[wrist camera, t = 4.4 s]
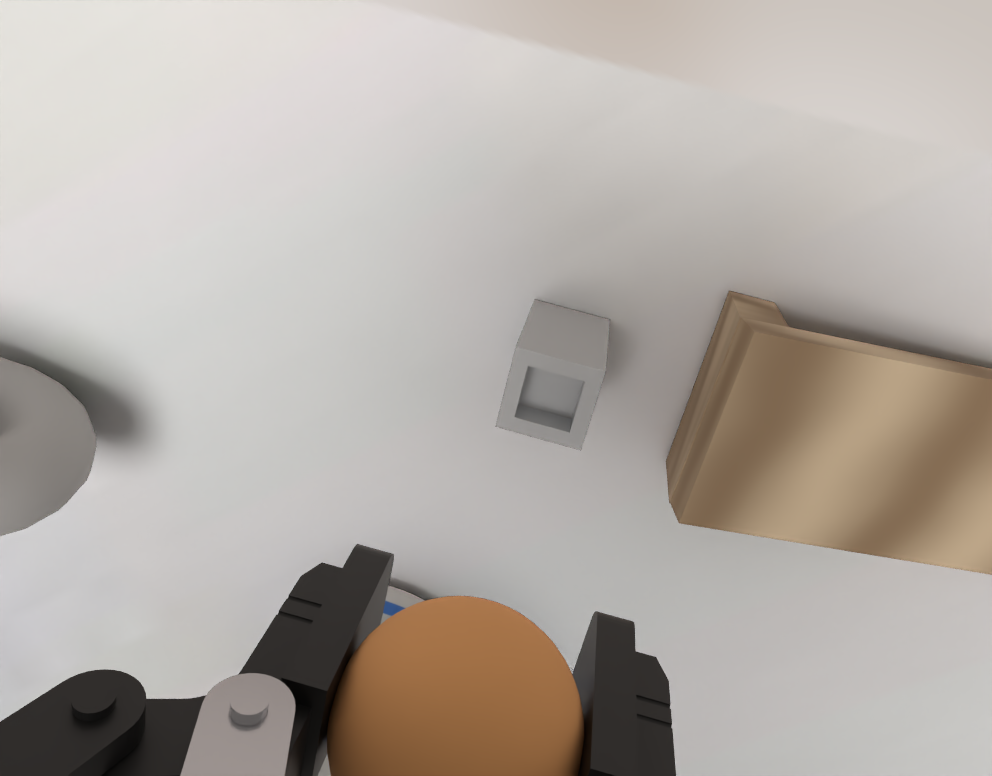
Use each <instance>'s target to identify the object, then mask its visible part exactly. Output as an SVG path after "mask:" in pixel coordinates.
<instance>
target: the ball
mask: <svg viewBox="0 0 992 776" xmlns="http://www.w3.org/2000/svg"><path fill="white" fill-rule="evenodd" d="M583 742H584V717H583V711H582V705H581V700H580V695H579V692H578V689H577V686H576V683H575V680H574V678H573V675H572V673H571V671H570V669H569V667H568V665H567V663H566V661H565V659H564V658H563V656H562V655H561V653H560V652H559V650H558V649H557V647H556V646H555V644H554V643H553V642H552V641H551V639H550V638H549V637H548V636H547V635H546V634H545V633H544V632H543V631H542V630H541V629H540V628H538V627H537V626H536V625H535V624H534V623H533V622H532V621H530V620H529V619H528V618H526V617H525V616H523V615H522V614H520V613H519V612H517V611H515V610H513V609H511V608H509V607H507V606H505V605H502V604H500V603H497V602H494V601H490V600H487V599H483V598H477V597H470V596H447V597H441V598H435V599H430V600H426V601H423V602H419V603H416V604H414V605H412V606H410V607H407V608H405V609H403V610H401V611H399V612H398V613H396V614H394V615H393V616H391V617H390V618H388V619H387V620H385V621H384V622H383V623H382V624H381V625H379V626H378V627H377V628H376V629H375V630H373V631H372V632H371V633H370V634H369V635H368V636H367V637H366V639H365V640H364V641H363V642H362V643H361V645H360V646H359V647H358V648H357V649H356V651H355V652H354V653H353V655H352V657H351V658H350V660H349V662H348V664H347V665H346V667H345V670H344V672H343V675H342V677H341V680H340V682H339V685H338V688H337V691H336V694H335V697H334V701H333V704H332V707H331V711H330V715H329V721H328V726H327V754H328V761H329V768H330V774H331V776H578V772H579V768H580V762H581V757H582V750H583Z"/></svg>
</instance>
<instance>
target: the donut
mask: <svg viewBox="0 0 992 776" xmlns="http://www.w3.org/2000/svg"><path fill="white" fill-rule="evenodd" d="M96 447H97V446H96V435H95V432H94V429H93V426H92V423H91V421H90V418H89V415H88V413H87V411H86V409H85V407H84V405H82V404H81V403H80V402H79V401H78V400H77V399H76V398H75V397H74V396H73V395H72V394H71V393H70V392H69V391H68V390H67V389H66V388H65V387H64V386H63V385H62V384H60V383H59V382H57V381H56V380H54V379H52V378H50V377H48V376H47V375H45V374H43V373H41V372H39V371H37V370H36V369H34V368H32V367H29V366H26V365H23V364H20V363H17V362H14V361H11V360H7V359H4V358H1V357H0V536H2V535H6V534H9V533H12V532H16V531H19V530H23V529H26V528H28V527H29V526H31V525H33V524H35V523H37V522H38V521H40V520H42V519H44V518H45V517H47V516H49V515H51V514H53V513H54V512H56V511H58V510H59V509H60V508H61V507H63V506H64V505H65V504H66V503H67V502H68V500H69V499H70V498H71V497H72V496H73V495H74V494H75V493H76V492H77V490H78V489H79V488H80V487H81V486H82V485H83V484H84V483H85V482H86V481H87V478H88V476H89V473H90V471H91V468H92V463H93V459H94V455H95V451H96Z"/></svg>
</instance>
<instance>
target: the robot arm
mask: <svg viewBox="0 0 992 776" xmlns="http://www.w3.org/2000/svg"><path fill="white" fill-rule="evenodd" d="M393 560H394V554H391V553H388V552H384V551H381V550H377V549H373V548H370V547H366V546H363V545H359V544H357V545H356V546H355V547H354V549H353V550H352V552H351V554H350V556H349V558H348V559H347V561H346V563H345V565H344V567H343V568H339V567H336V566H332V565H329V564H325V563H321V564H319V565H318V566H316V567H314V568H313V569H311V570H310V571H308V572H307V573H305V574H304V575H302V576H301V577H300V579H299V580H298V582H297V583H296V585H295V586H294V588H293V590H292V591H291V593H290V594H289V597H288V599H286V601H285V602H284V604H283V605H282V607H281V609H280V610H279V613H278V615H276V616H275V618H274V620H273V621H272V623H271V624H270V626H269V628H268V629H267V631H266V632H265V634H264V635H263V637H262V639H261V640H260V642H259V643H258V645H257V647H256V648H255V650H254V651H253V653H252V654H251V656H250V658H249V659H248V661H247V662H246V664H245V666H244V667H243V669H242V670H241V672H240V673H239V674H238V675H235V676H232V677H229V678H227V679H225V680H223V681H221V682H219V683H218V684H217V685H215V686H214V687H213V688H212V689H211V690H210V691H209V692H208V694H207V695H205V696H202V697H197V698H191V699H146V693H145V690H144V688H143V686H142V685H141V683H140V682H139V681H138V680H137V679H136V678H134V677H133V676H131V675H129V674H127V673H124V672H121V671H116V670H94V671H88V672H85V673H81V674H78V675H76V676H73V677H71V678H69V679H67V680H65V681H64V682H62V683H60V684H59V685H57V686H56V687H54V688H52V689H51V690H49V691H48V692H46V693H45V694H43V695H41V696H40V697H38V698H37V699H35V700H34V701H32V702H31V703H29V704H27V705H26V706H24V707H23V708H21V709H20V710H18V711H16V712H15V713H13V714H12V715H10V716H9V717H7V718H5V719H4V720H2V721H1V722H0V776H318V774H319V772H320V769H321V767H322V765H323V762H324V760H325V758H326V755H327V726H328V721H329V715H330V711H331V707H332V704H333V701H334V697H335V694H336V691H337V688H338V685H339V682H340V680H341V677H342V675H343V672H344V670H345V667H346V665H347V664H348V662H349V660H350V658H351V657H352V655H353V653H354V652H355V651H356V649H357V648H358V647H359V646H360V645H361V643H362V642H363V641H364V640H365V639H366V637H367V636H368V635H369V634H370V633H371V632H372V631H373V630H375V629H376V628H377V627H378V626H379V625H380V623H381V619H382V615H383V610H384V605H385V600H386V595H387V590H388V585H389V581H390V576H391V571H392V566H393ZM572 675H573V678H574V680H575V683H576V686H577V689H578V692H579V695H580V700H581V705H582V711H583V717H584V742H583V750H582V757H581V762H580V768H579V772H578V776H676V771H675V758H674V745H673V732H672V728H671V725H672V719H671V709H670V693H669V681H668V679H667V677H666V675H665V673H664V671H663V670H662V668H661V666H660V664H659V662H658V660H657V658H656V657H653V656H650V655H646V654H643V653H639V652H636V651H635V625H634V622H632V621H629V620H625V619H622V618H618V617H615V616H611V615H607V614H604V613H600V612H597V611H596V612H595V613H594V614H593V616H592V619H591V622H590V625H589V628H588V630H587V633H586V636H585V639H584V642H583V645H582V648H581V651H580V654H579V656H578V659H577V662H576V665H575V668H574V671H573V674H572Z"/></svg>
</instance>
